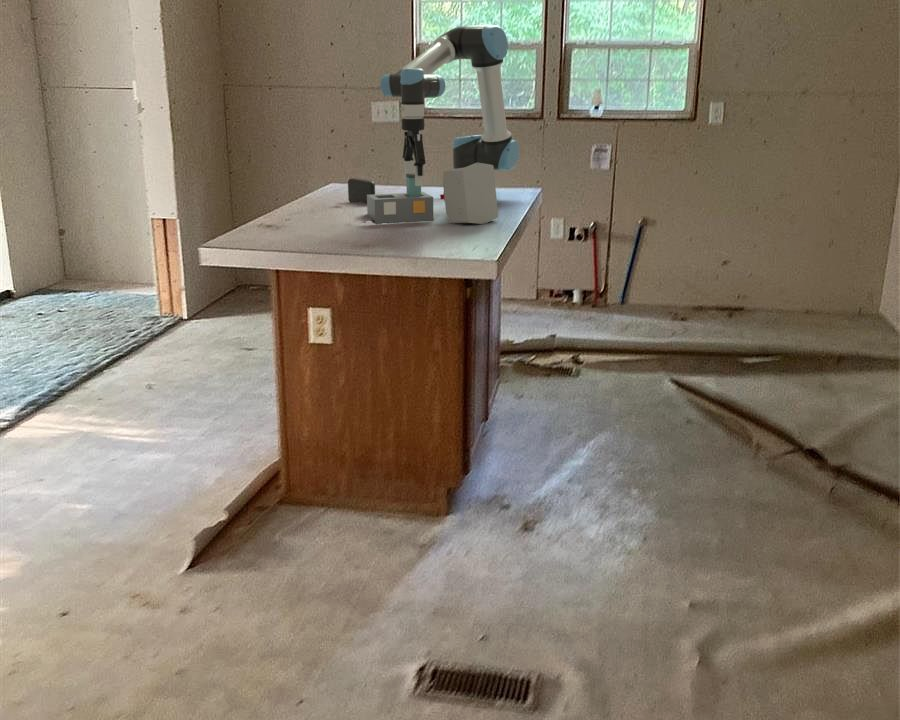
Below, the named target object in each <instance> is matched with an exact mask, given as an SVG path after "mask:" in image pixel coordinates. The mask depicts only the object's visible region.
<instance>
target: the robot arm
mask: <svg viewBox="0 0 900 720" xmlns="http://www.w3.org/2000/svg"><path fill="white" fill-rule="evenodd" d="M508 42H509V41H508V37H507V35H506V32H505V30H504V29H502V27H501V26H499V25H495V24H477V25H475V24H473V25H460V26H457V27H454V28H452V29H450V30H448V31H446V32H445V33H443V34H442V35H439V37H437V38H436V39H435V40H433V42H432V45H431V46H430V47H428V48H427V49H426V50H425V51H423V52H421V54H420V55H418V56H417V57H415V58H414V59H412V60H411V61H410V62H409V63H407V64H406V65H405V66H403V67H402V68H401V69H400V70H398V71H397V72H395V73H387V74H384V75H382V77H381V79H380V83H379V84H380V85H379V87H380V91H381V93H382V95H384V96H385V97H390V98H400V100H401V102H400V103H401V107H399V111H401V117H402V119H401V130H402V131H404V133H403V134H404V139H403V148H402V159H403V162H404V181H405V182H406V174H411V173H415V186H421V187H423V186H425V185H424V184H425V182H424V180H425V179H424V166H425V165H426V163H427V162H426V157H425V150H424V149H425V147H424V143H423V141H424V140H423V134H422V133H420V131H424V130H425V119H424V117H425V99H431V98H433V99H435V98H439V97H441V96H442V95H443V94H444V93H445V90H446V82H445V79H444V77H442V75H440V74H436V73H434V72H435V71H437V70H439V69H440V68H441V67H442V66H443V65H447V64H450V63H452V62H453V61H456V60H470V62H471V67H472V68H473V69H474V70H475V71H476V77H477V84H478V85H477V86H478V91H479V99H480V108H481V115H482V122H483V132H484V133H483V134H475V135H466V136H458V137H455V138H454V139H453V143H452V145H453V146H452V159H453V160H452V161H453V168H452V169H458V168H465V167H467V166H470V165H472V164H475V163H484V164H490V165H493V166H494V171H498V172H502V171H506V172H507V171H510V170H513V169H514V167H515V166H516V164H517V162H518V160H519V155H520V144H519V143H518V141H517V140H515V139H513V138H512V137H513V136H512V132H511V131H510V130H508V127H507V121H506V120H507V119H506V110H505V101H504V93H503V85H502V84H503V83H502V76H501V65H502V64H503V63H504V58H506V56H507V54H508V48H509V43H508ZM413 166H414V167H413Z"/></svg>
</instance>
